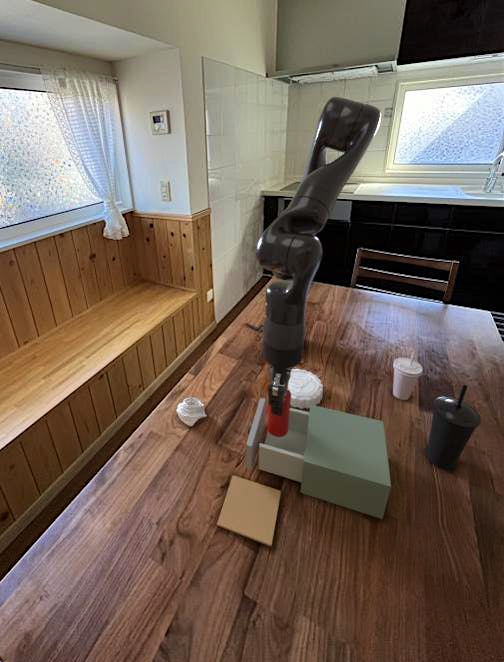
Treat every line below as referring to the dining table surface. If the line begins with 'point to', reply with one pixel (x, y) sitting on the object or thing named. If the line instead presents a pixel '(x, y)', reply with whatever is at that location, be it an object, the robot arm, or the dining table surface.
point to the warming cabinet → (346, 461)
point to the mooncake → (304, 389)
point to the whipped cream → (190, 411)
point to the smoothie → (405, 376)
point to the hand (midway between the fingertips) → (279, 404)
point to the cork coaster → (250, 510)
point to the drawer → (279, 445)
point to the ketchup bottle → (279, 418)
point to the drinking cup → (451, 429)
